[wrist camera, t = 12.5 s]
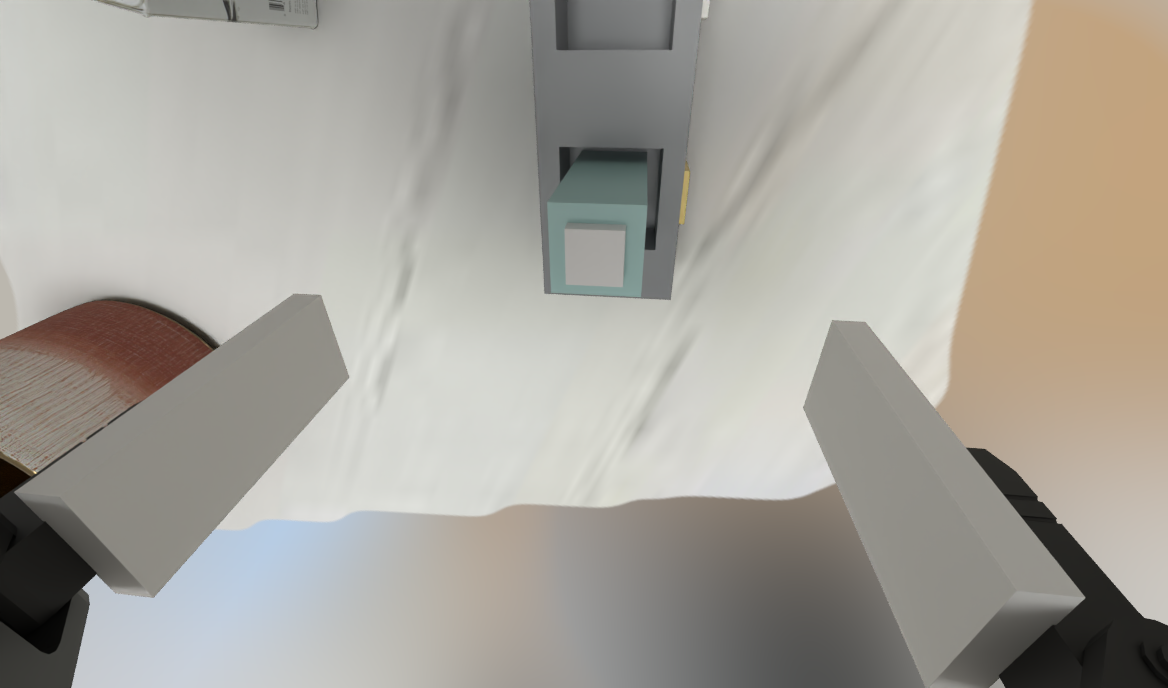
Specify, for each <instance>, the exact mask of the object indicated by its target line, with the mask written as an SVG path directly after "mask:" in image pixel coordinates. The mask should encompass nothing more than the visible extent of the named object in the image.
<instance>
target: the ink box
mask: <svg viewBox="0 0 1168 688" xmlns="http://www.w3.org/2000/svg"><path fill="white" fill-rule="evenodd" d="M93 1H96V2H100V3H103V4H106V5H110V6H113V7H117V8H120V9H124V10H128V11H132V12H135V13H139V14H141V15H143V16H145V17H147V18H148V17H150V16H159V17H173V18H185V19H200V20H213V21H227V22H238V23H251V24H265V25H277V26H290V27H304V28H311V29H314V28H315V27H316V26H317V24H318V22H317V9H316V0H93Z"/></svg>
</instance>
